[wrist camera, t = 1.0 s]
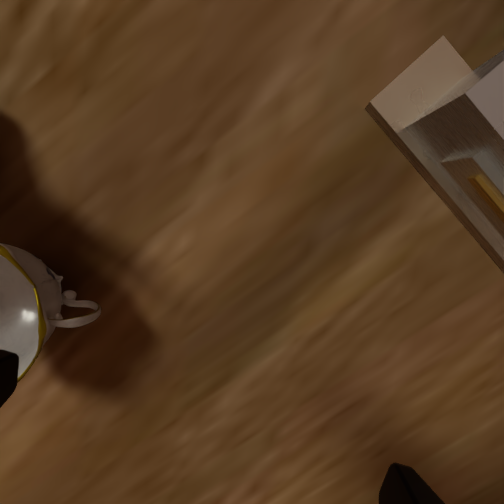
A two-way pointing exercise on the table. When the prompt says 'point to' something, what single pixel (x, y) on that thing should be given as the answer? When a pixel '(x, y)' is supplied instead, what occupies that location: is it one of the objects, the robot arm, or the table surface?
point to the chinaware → (33, 305)
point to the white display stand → (453, 135)
